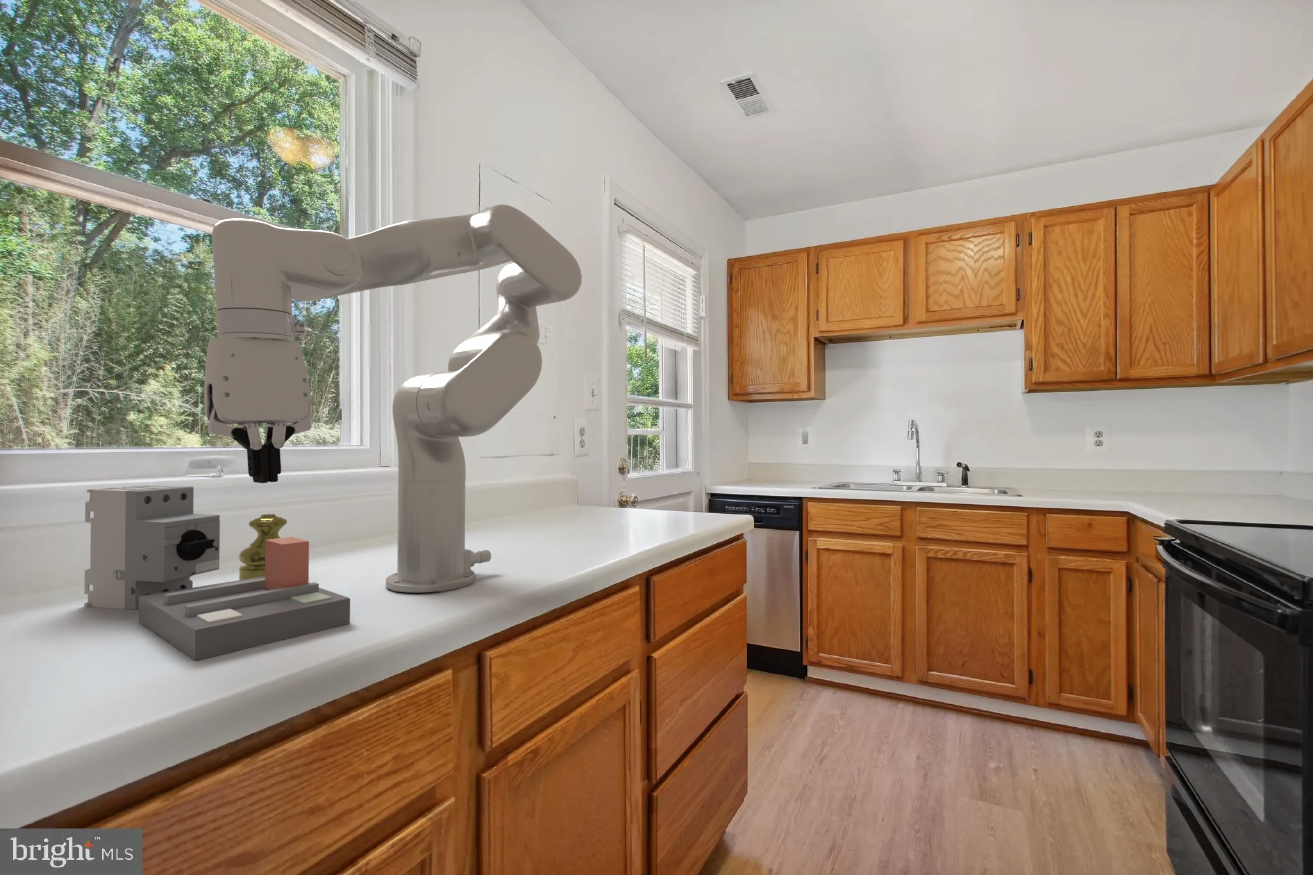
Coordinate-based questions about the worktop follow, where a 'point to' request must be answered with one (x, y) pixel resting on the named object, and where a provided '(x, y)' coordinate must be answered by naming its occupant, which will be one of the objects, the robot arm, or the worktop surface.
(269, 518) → the brass knob
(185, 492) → the circuit breaker
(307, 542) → the handle
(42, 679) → the worktop surface
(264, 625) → the breaker panel
